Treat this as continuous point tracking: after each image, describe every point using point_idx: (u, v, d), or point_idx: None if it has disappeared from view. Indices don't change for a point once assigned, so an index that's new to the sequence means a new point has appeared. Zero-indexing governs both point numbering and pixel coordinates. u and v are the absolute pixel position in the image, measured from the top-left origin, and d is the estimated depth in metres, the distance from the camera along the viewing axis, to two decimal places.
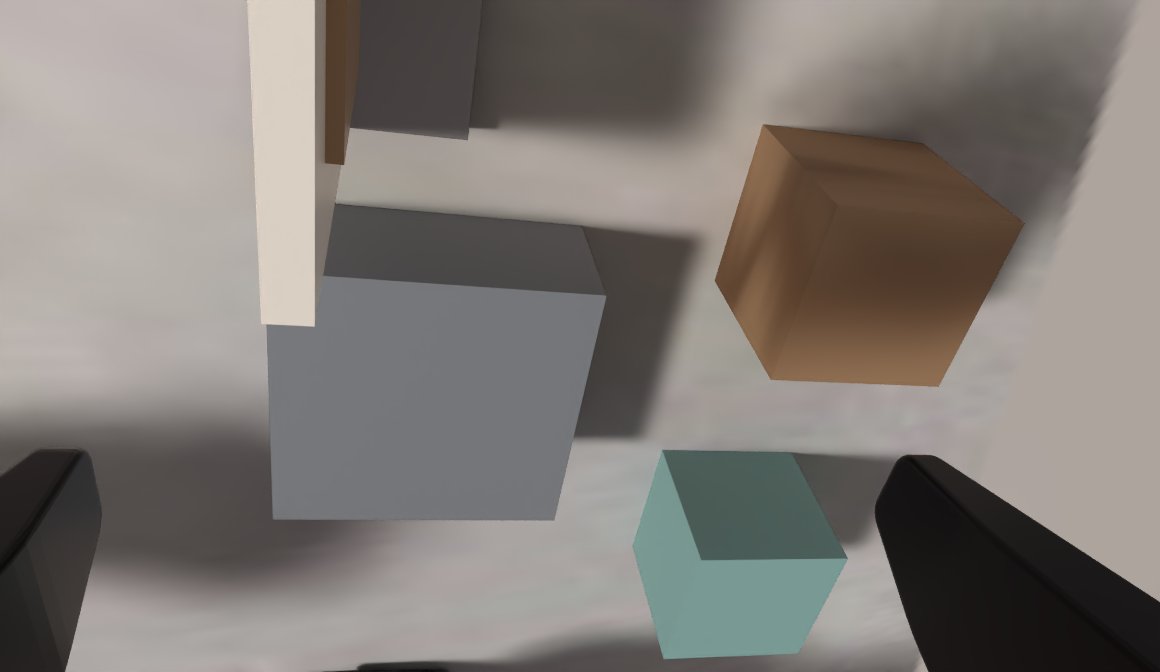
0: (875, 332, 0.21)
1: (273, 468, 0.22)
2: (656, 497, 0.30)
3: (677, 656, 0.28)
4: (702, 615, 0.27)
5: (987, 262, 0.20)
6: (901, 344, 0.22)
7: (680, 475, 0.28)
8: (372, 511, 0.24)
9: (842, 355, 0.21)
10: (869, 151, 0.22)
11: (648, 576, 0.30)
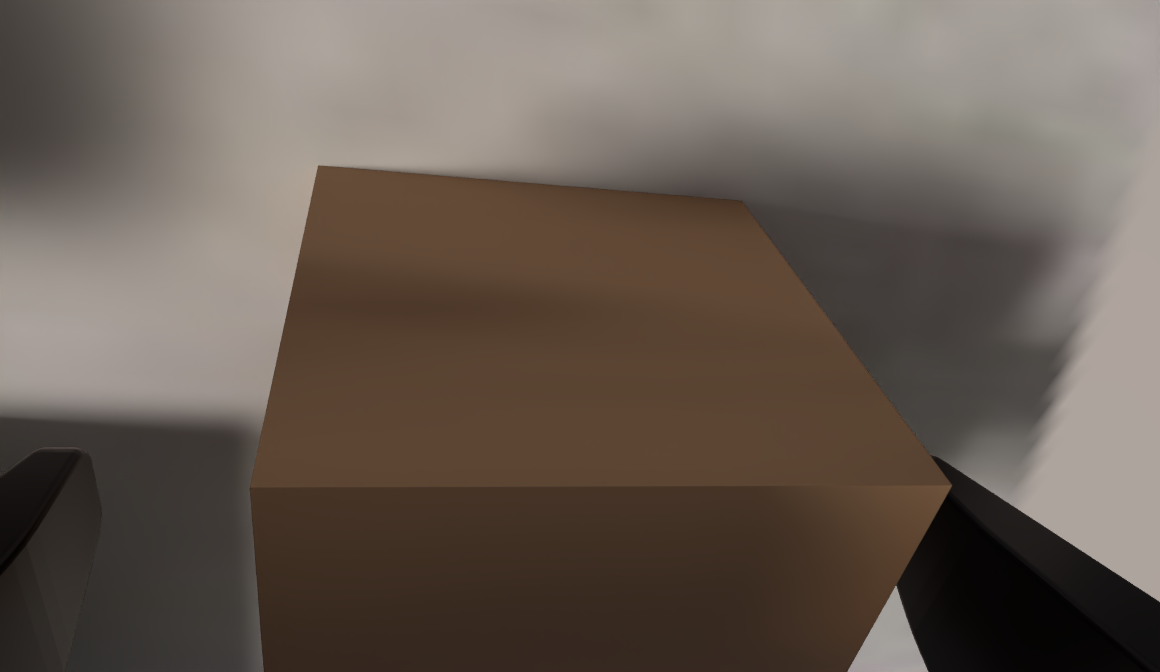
0: None
1: None
2: None
3: None
4: None
5: (846, 585, 0.07)
6: None
7: None
8: None
9: None
10: (575, 231, 0.09)
11: None
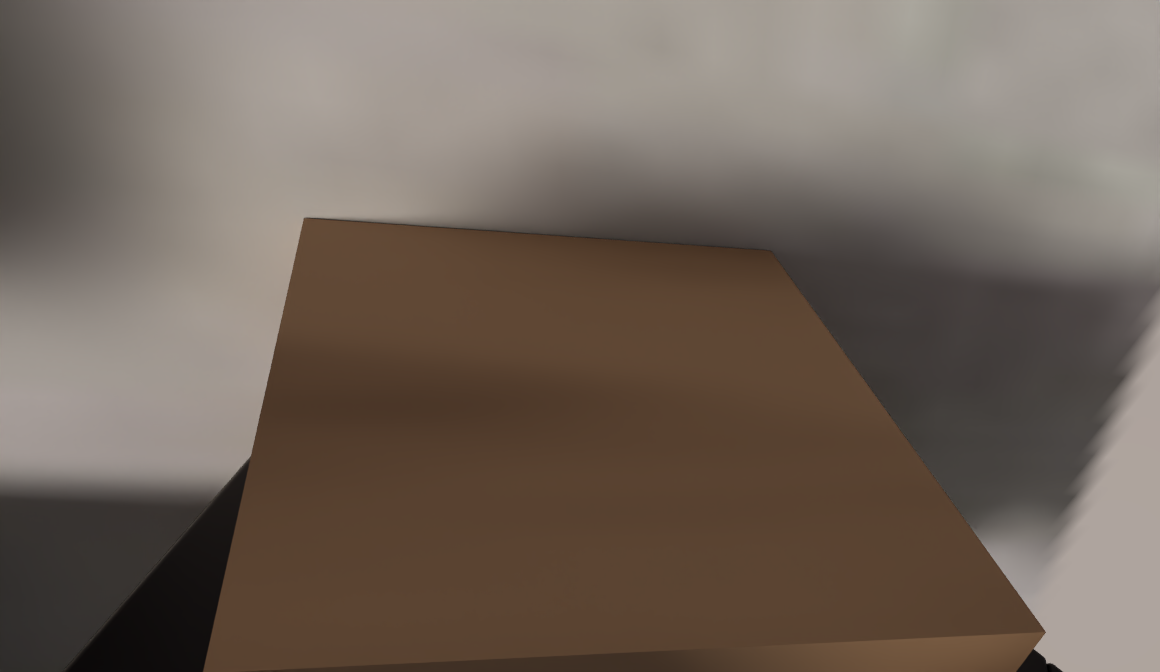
0: None
1: None
2: None
3: None
4: None
5: None
6: None
7: None
8: None
9: None
10: (592, 297, 0.08)
11: None
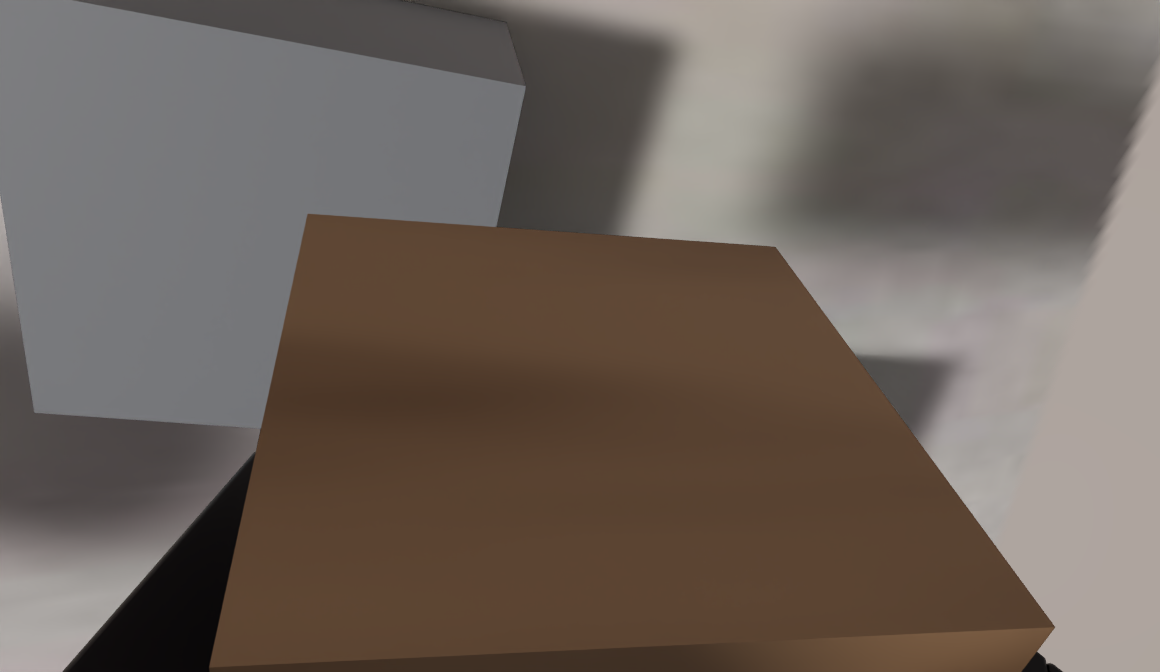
0: None
1: (24, 331, 0.15)
2: None
3: None
4: None
5: None
6: None
7: None
8: (186, 411, 0.16)
9: None
10: (598, 293, 0.08)
11: None
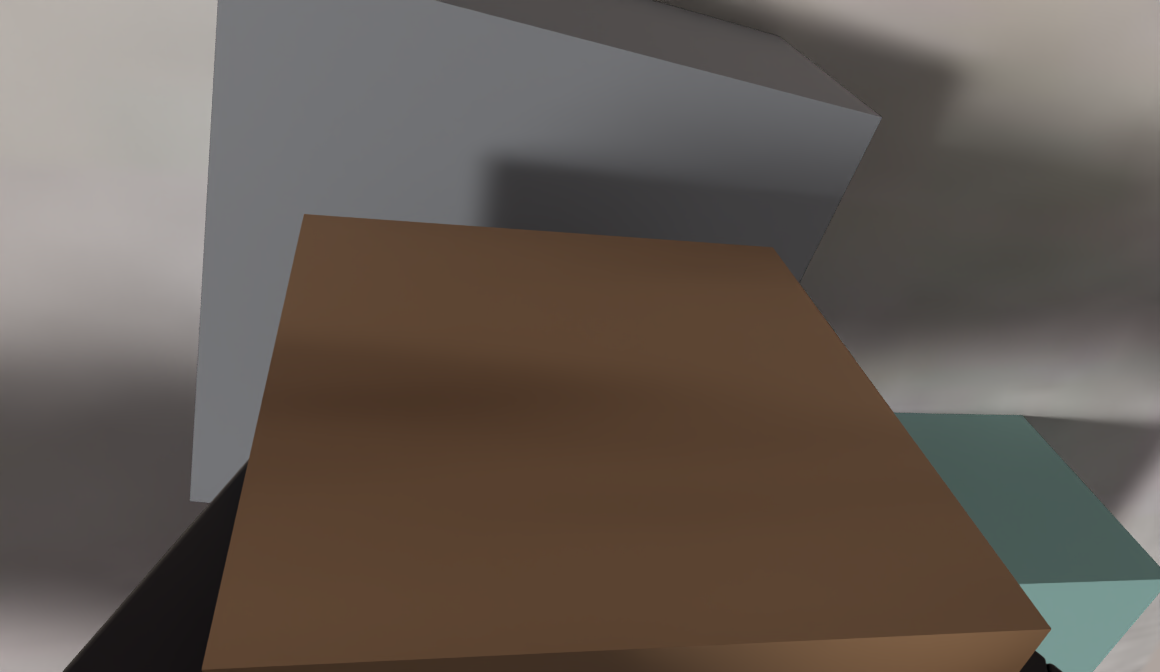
0: None
1: (199, 403, 0.12)
2: None
3: None
4: None
5: None
6: None
7: None
8: None
9: None
10: (593, 294, 0.08)
11: None
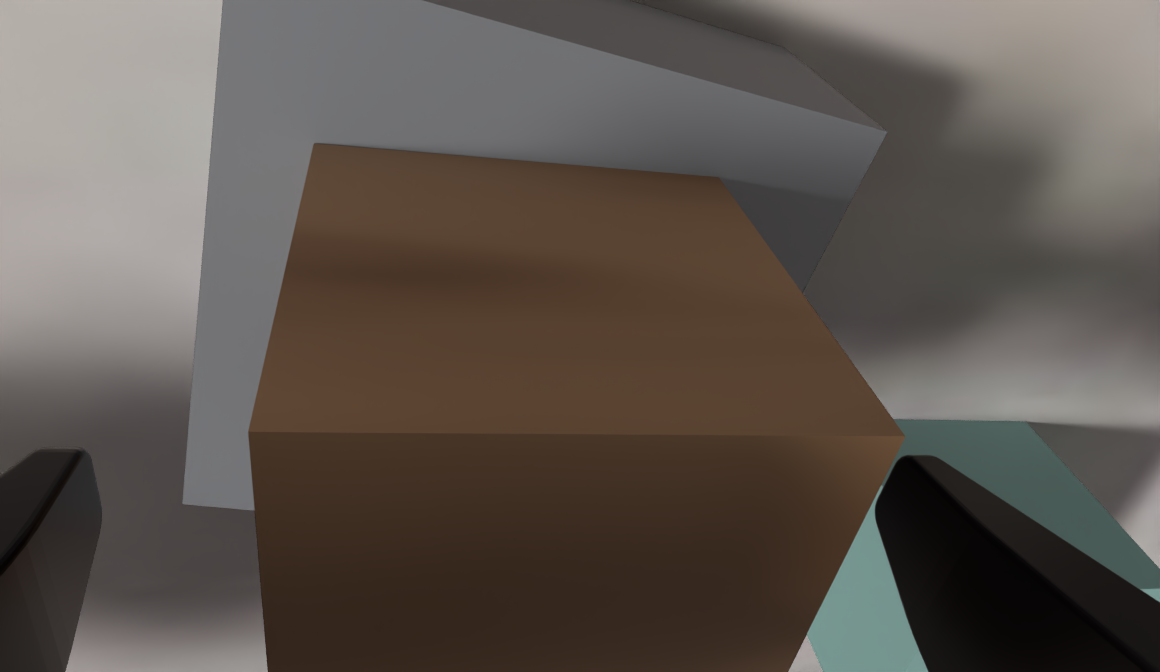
0: None
1: (194, 405, 0.11)
2: None
3: None
4: None
5: (809, 532, 0.07)
6: None
7: None
8: None
9: None
10: (559, 207, 0.09)
11: None
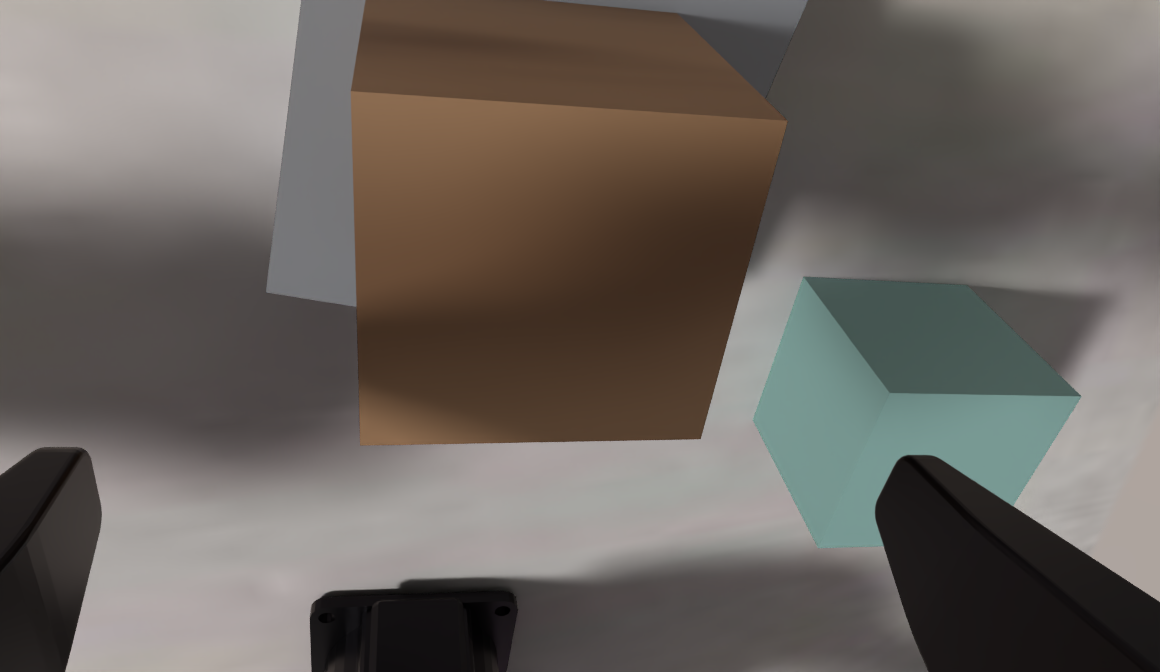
0: (541, 351, 0.11)
1: (280, 200, 0.15)
2: (795, 341, 0.22)
3: (836, 543, 0.21)
4: (878, 482, 0.20)
5: (729, 206, 0.10)
6: (601, 370, 0.12)
7: (834, 302, 0.21)
8: None
9: (488, 395, 0.11)
10: (552, 20, 0.12)
11: (784, 448, 0.23)
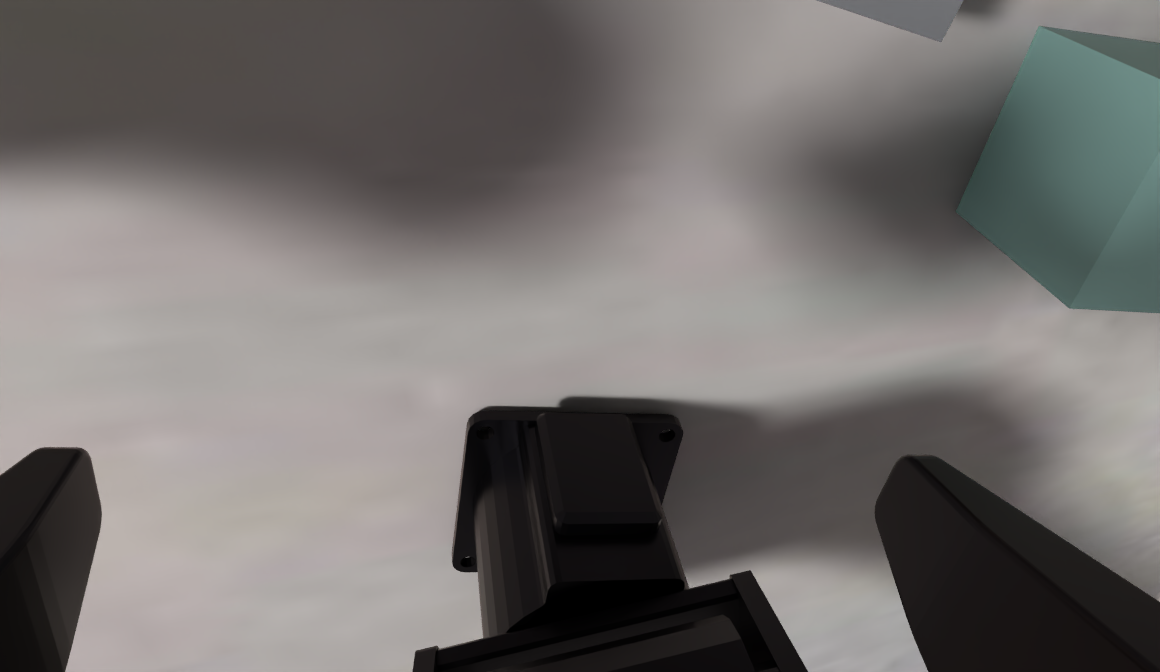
0: None
1: None
2: (1026, 101, 0.21)
3: (1089, 303, 0.19)
4: (1151, 220, 0.18)
5: None
6: None
7: (1084, 42, 0.19)
8: None
9: None
10: None
11: (1009, 222, 0.21)
